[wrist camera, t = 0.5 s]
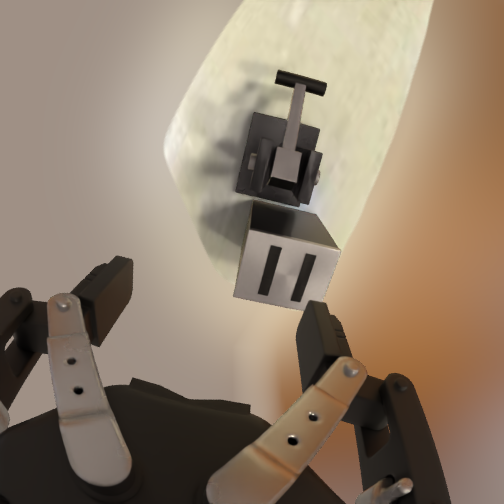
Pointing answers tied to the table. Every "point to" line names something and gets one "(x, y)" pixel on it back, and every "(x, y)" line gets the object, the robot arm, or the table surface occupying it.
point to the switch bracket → (260, 158)
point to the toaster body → (285, 257)
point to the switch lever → (291, 130)
